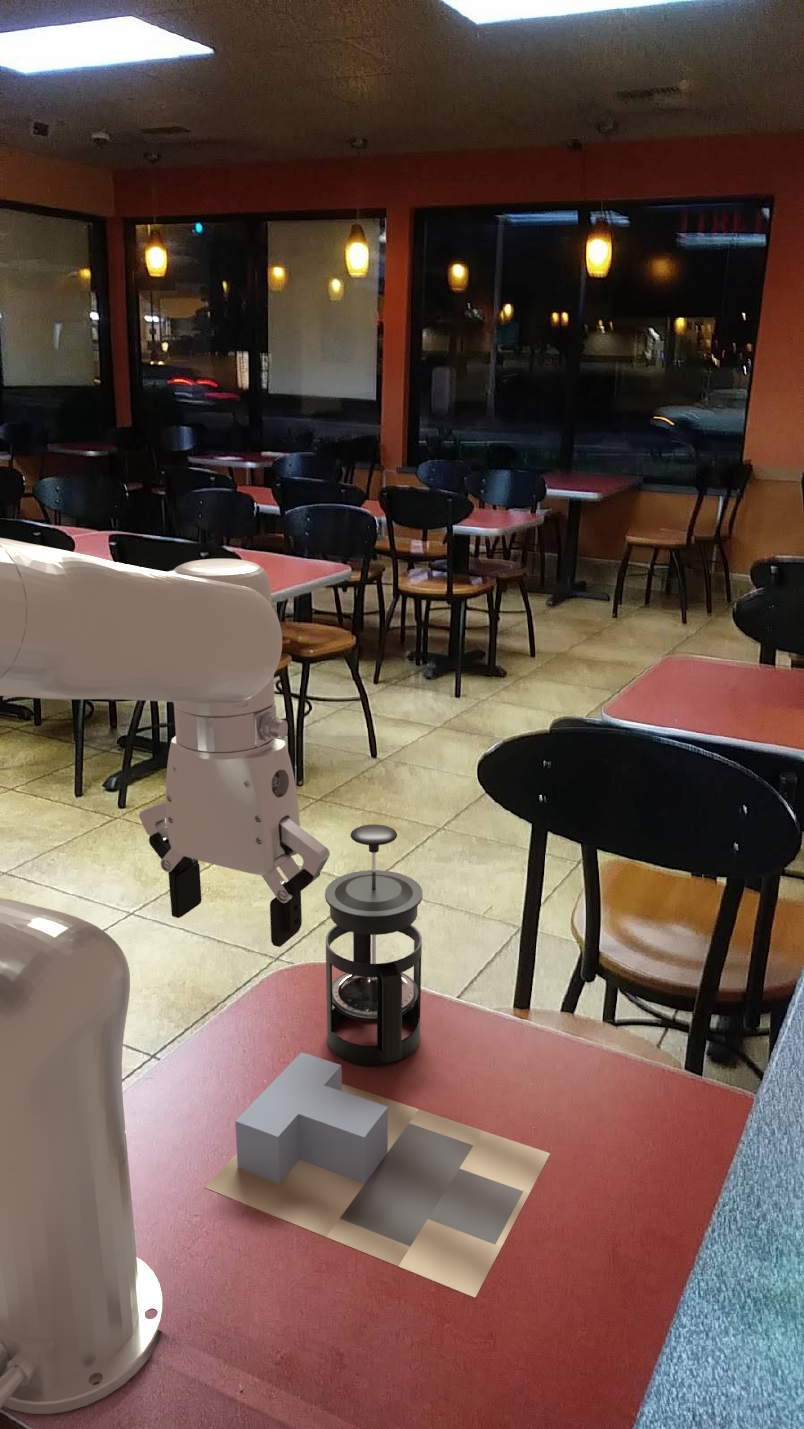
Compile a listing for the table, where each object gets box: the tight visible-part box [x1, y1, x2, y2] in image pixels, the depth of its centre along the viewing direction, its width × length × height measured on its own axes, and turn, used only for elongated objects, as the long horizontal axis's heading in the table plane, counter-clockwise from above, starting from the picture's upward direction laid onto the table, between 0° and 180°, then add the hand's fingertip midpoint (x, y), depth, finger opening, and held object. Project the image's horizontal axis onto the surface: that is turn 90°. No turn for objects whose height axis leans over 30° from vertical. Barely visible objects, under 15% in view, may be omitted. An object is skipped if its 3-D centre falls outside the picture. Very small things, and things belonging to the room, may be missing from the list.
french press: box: [324, 823, 423, 1068], centre depth 99 cm, size 12×9×23 cm
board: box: [204, 1083, 551, 1299], centre depth 86 cm, size 16×23×1 cm
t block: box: [234, 1052, 388, 1184], centre depth 88 cm, size 10×10×4 cm
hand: (235, 924), depth 87 cm, fingers open, 9 cm apart
